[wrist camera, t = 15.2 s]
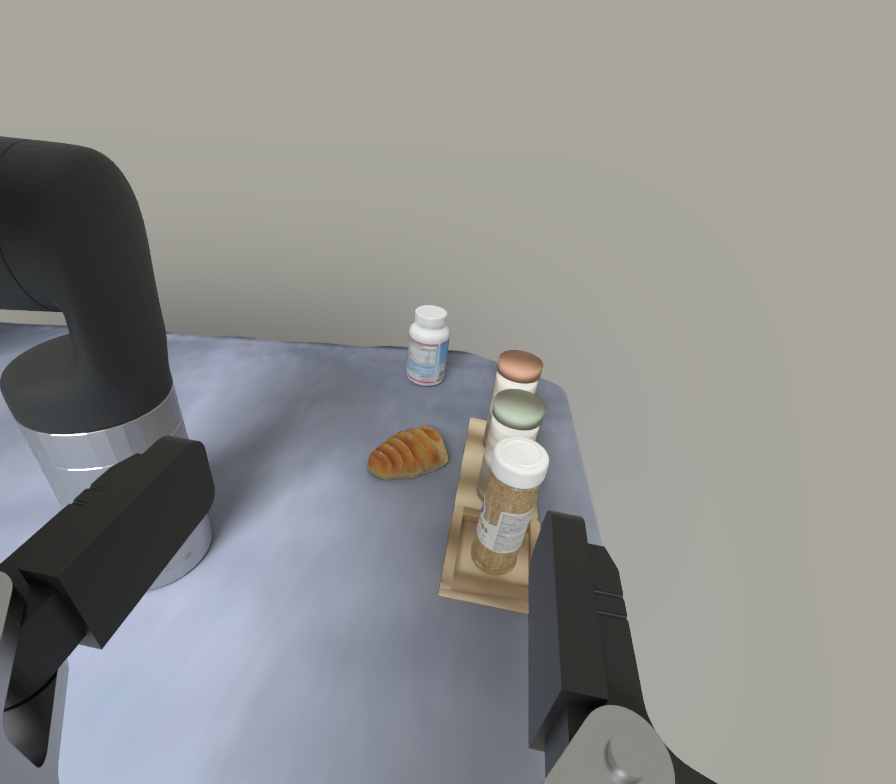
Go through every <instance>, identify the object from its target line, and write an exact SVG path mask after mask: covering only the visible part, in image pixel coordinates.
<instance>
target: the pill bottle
mask: <svg viewBox="0 0 896 784" xmlns="http://www.w3.org/2000/svg"><path fill="white" fill-rule="evenodd" d="M415 321H416V322H414V323H413V324H412V325H411V327H410V330H409V341H408V354H407V368H406V375H407V377H408V379H409V380H411V381H412V382H413V383H415V384H418V385H421V386H433V385H437V384H439V383H441V382H442V381H443V379H444V376H445V369H446V360H447V352H448V344H449V334H450V333H449V329H448V327H447V326H446V325H445V324H446V321H447V312H446V311H445V310H444V309H443V308H440V307H437V306H432V305H425V306H421V307H418V308H417V309H416V312H415Z"/></svg>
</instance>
